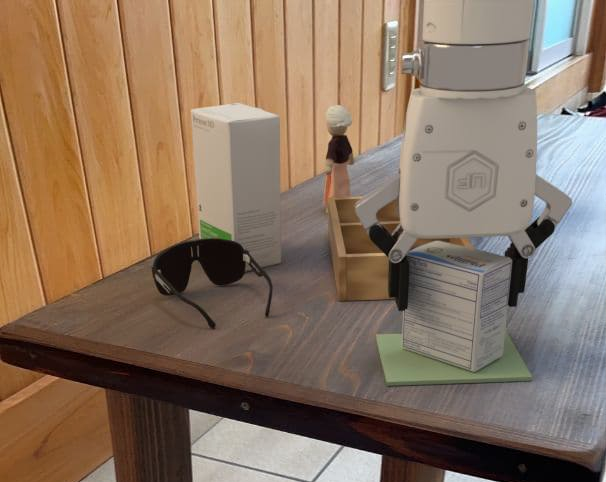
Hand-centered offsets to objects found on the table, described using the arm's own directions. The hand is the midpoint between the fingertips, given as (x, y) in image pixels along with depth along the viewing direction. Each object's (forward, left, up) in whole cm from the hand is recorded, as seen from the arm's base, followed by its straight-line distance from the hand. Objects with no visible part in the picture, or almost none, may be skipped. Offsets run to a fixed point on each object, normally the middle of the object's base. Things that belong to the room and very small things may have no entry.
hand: (454, 302), depth 71 cm
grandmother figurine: (+7, -48, -5) cm, 49 cm away
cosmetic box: (+19, -29, -5) cm, 35 cm away
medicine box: (0, 0, -5) cm, 5 cm away
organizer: (+2, -26, -5) cm, 27 cm away
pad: (0, 0, -5) cm, 5 cm away
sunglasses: (+21, -15, -5) cm, 26 cm away
